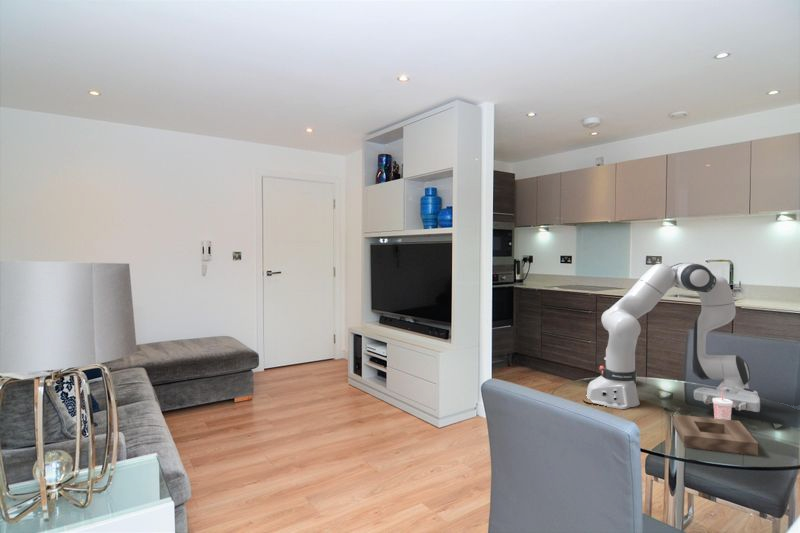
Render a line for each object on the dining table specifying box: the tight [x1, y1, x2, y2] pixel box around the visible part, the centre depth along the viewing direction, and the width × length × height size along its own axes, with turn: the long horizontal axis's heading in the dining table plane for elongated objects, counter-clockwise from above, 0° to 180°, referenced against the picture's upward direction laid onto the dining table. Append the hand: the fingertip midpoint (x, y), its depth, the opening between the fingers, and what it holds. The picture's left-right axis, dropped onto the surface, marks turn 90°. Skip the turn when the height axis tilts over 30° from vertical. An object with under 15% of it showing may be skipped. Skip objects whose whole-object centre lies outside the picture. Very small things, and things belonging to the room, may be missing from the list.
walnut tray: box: [672, 414, 759, 457], centre depth 151 cm, size 20×18×4 cm
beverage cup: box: [712, 387, 733, 420], centre depth 162 cm, size 6×6×14 cm
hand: (721, 405), depth 161 cm, fingers open, 8 cm apart
